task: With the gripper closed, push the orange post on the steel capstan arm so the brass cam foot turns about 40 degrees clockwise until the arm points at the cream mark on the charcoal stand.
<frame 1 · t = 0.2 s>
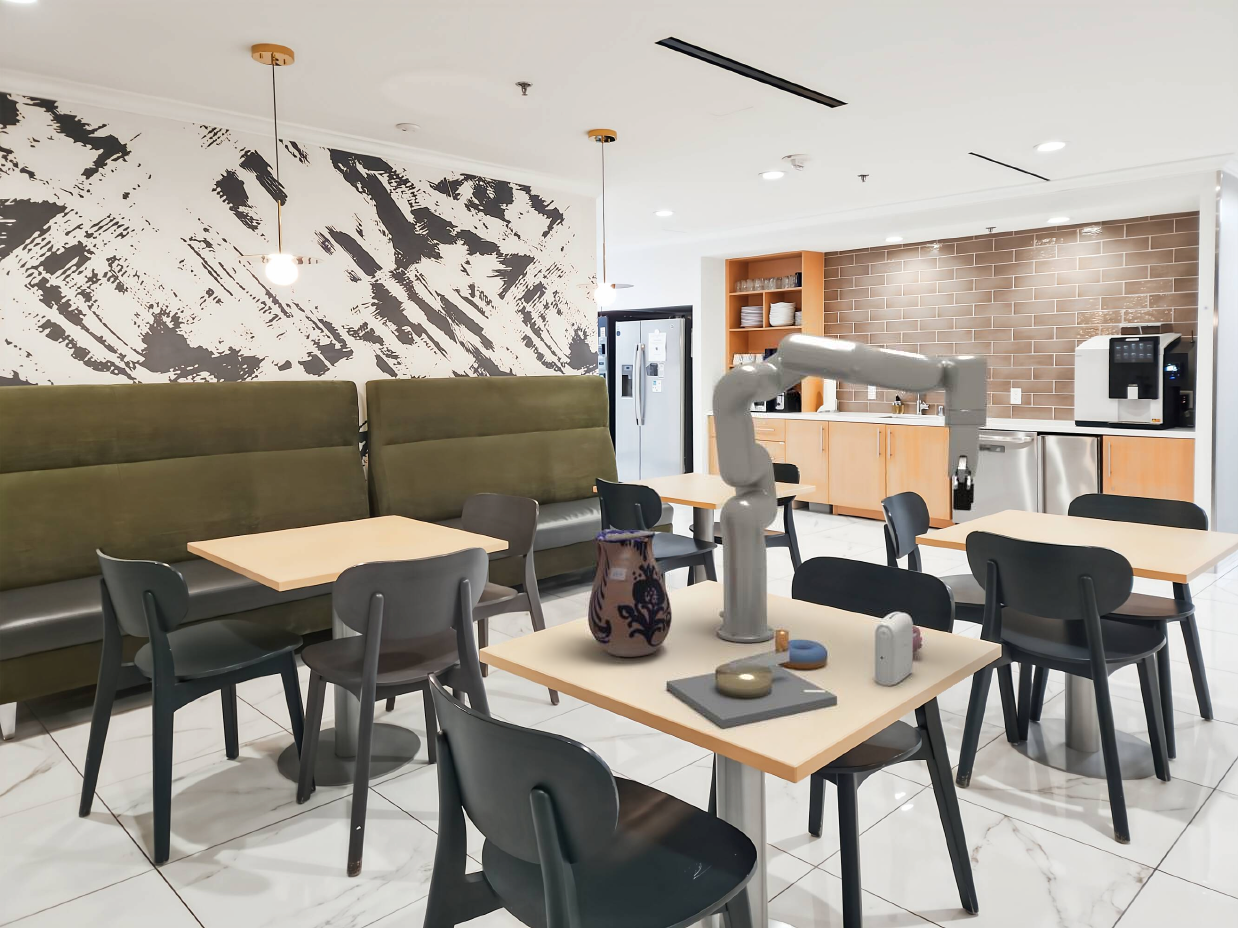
hand: (963, 506, 168), 31 cm above the table, tool pointing down, fingers open, 9 cm apart
doughnut: (802, 664, 172), on the table
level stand: (749, 696, 154), on the table
photo printer: (893, 678, 162), on the table
cam foot: (755, 661, 154), point 6 cm above the table, hinge at 40.0°
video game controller: (904, 654, 176), on the table
ceramic pitcher: (625, 650, 182), on the table
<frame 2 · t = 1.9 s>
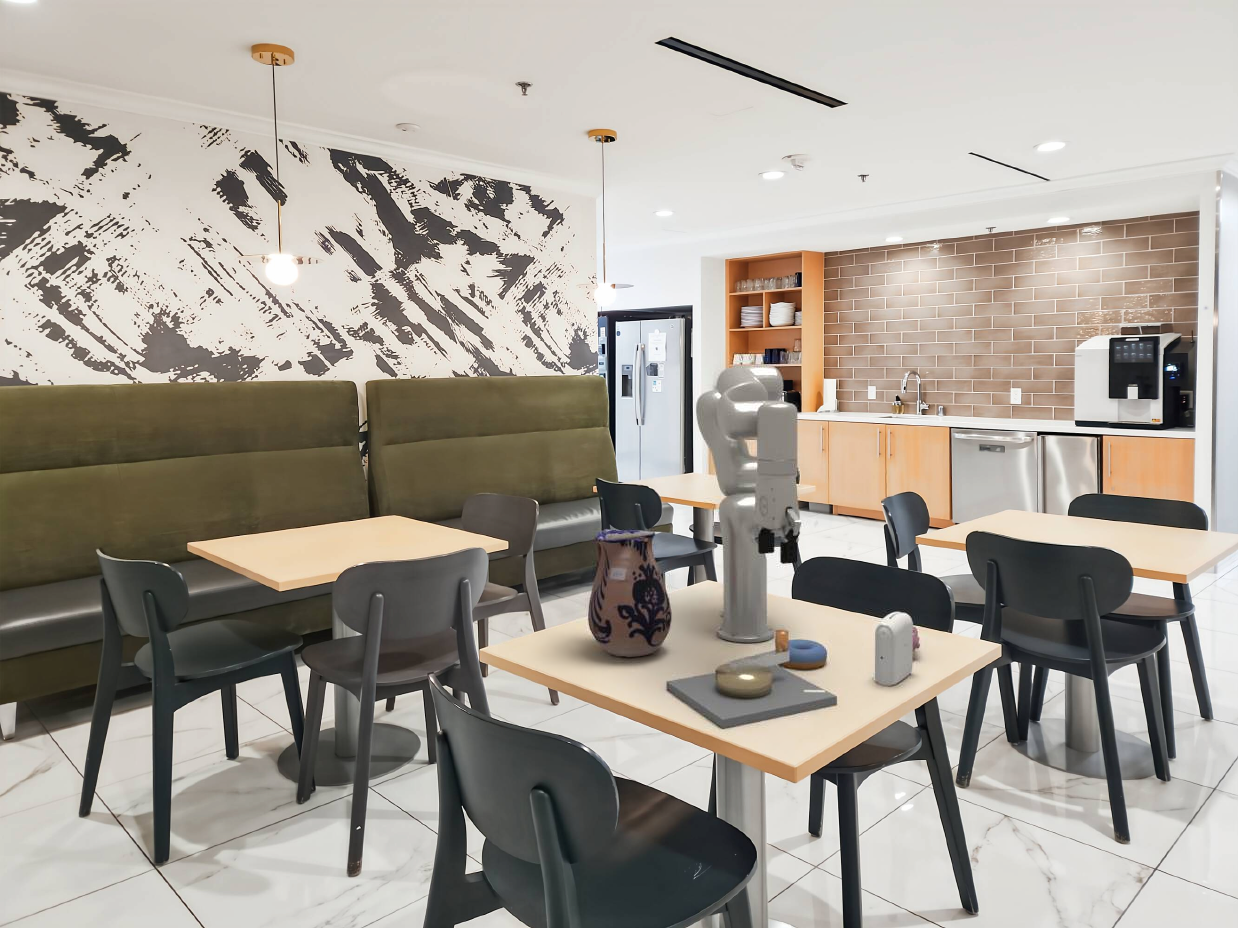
hand: (777, 557, 163), 23 cm above the table, tool pointing down, fingers open, 9 cm apart
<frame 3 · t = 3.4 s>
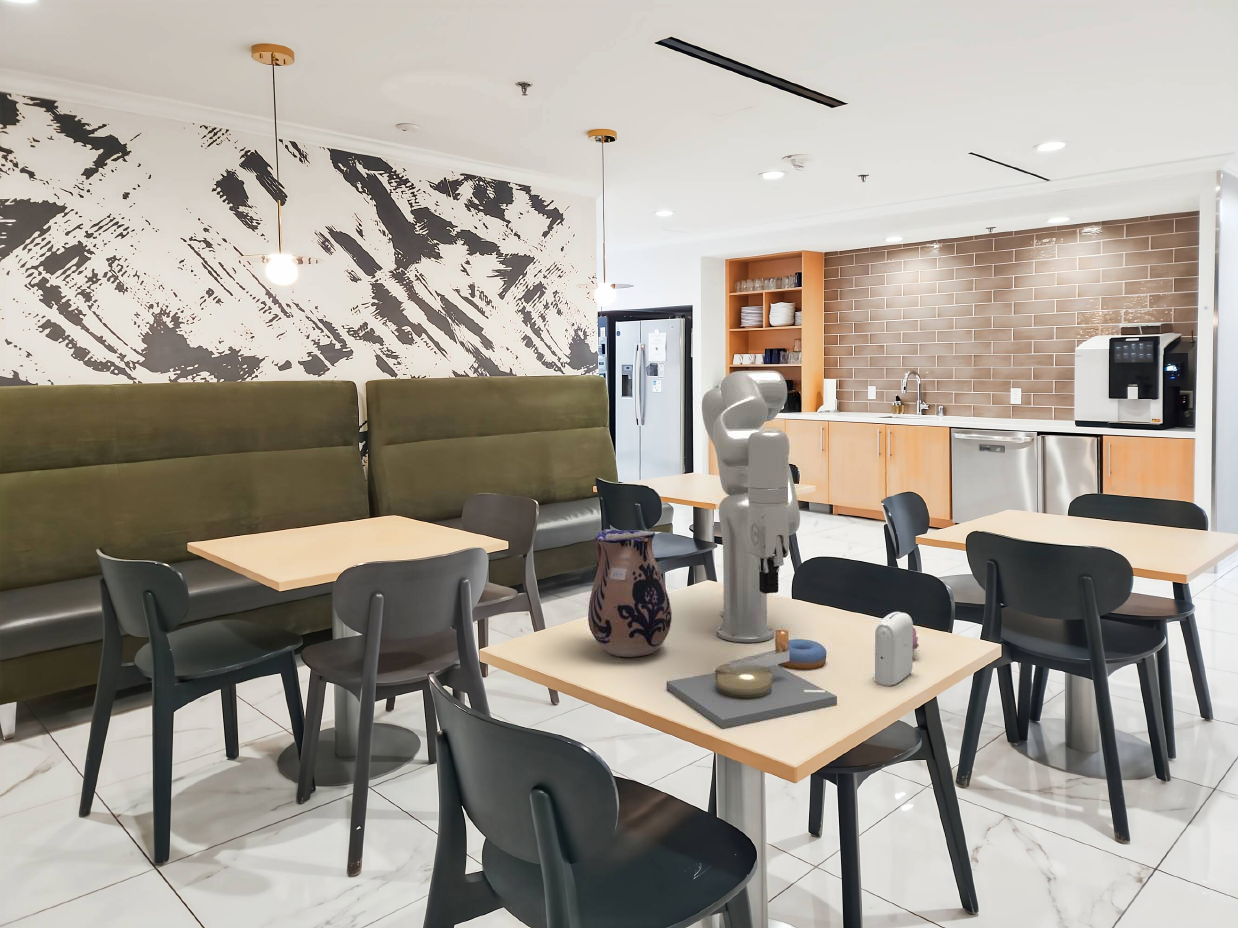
hand: (768, 592, 163), 16 cm above the table, tool pointing down, fingers closed
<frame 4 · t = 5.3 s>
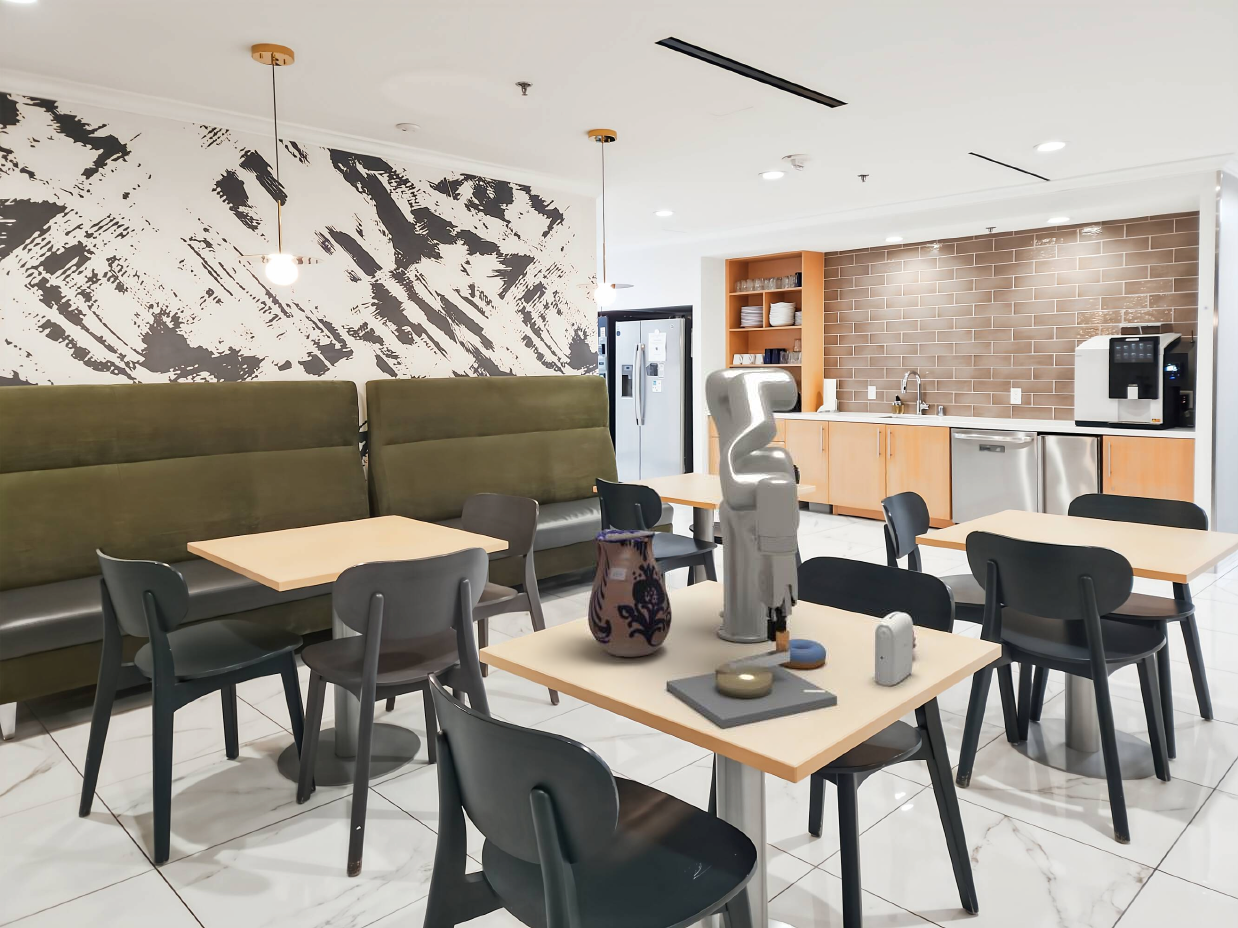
hand: (776, 639, 161), 8 cm above the table, tool pointing down, fingers closed
cam foot: (755, 661, 154), point 6 cm above the table, hinge at 39.0°, touching gripper
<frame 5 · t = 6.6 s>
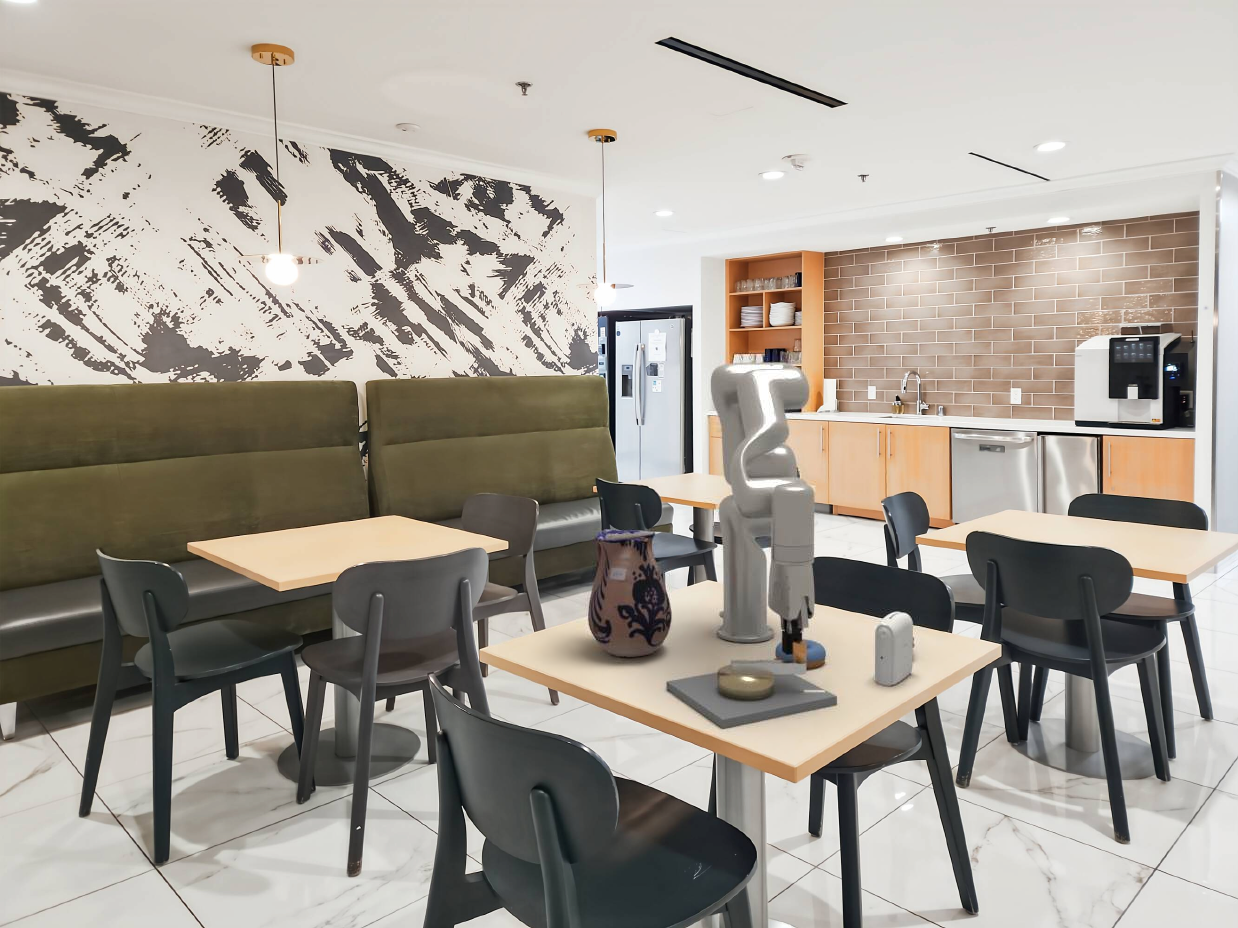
hand: (791, 652, 155), 7 cm above the table, tool pointing down, fingers closed
cam foot: (761, 665, 152), point 6 cm above the table, hinge at 3.4°, touching gripper
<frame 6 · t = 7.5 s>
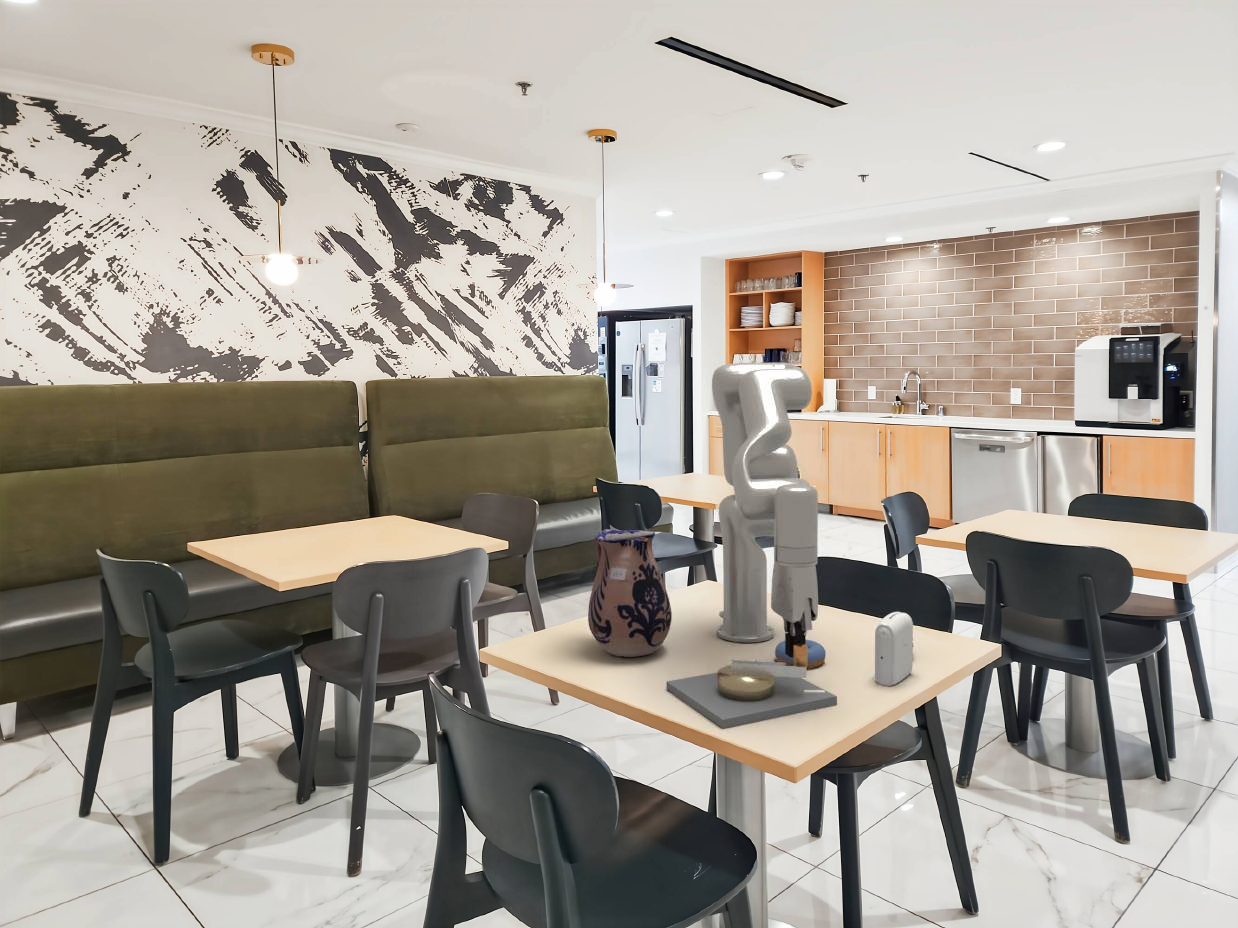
hand: (795, 655, 153), 7 cm above the table, tool pointing down, fingers closed
cam foot: (762, 667, 151), point 6 cm above the table, hinge at -5.4°, touching gripper
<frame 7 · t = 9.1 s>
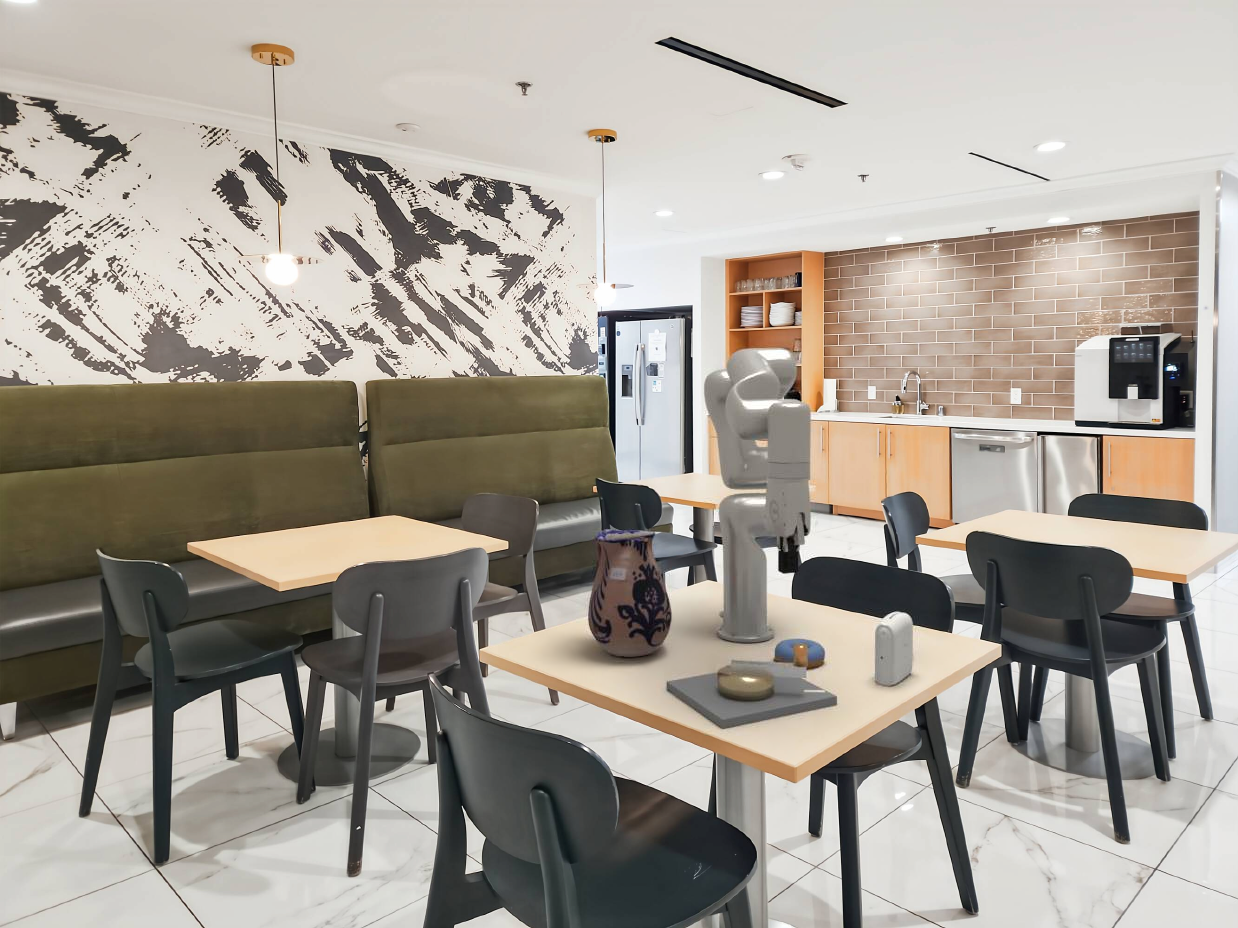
hand: (788, 571, 155), 22 cm above the table, tool pointing down, fingers closed
cam foot: (762, 667, 151), point 6 cm above the table, hinge at -5.9°
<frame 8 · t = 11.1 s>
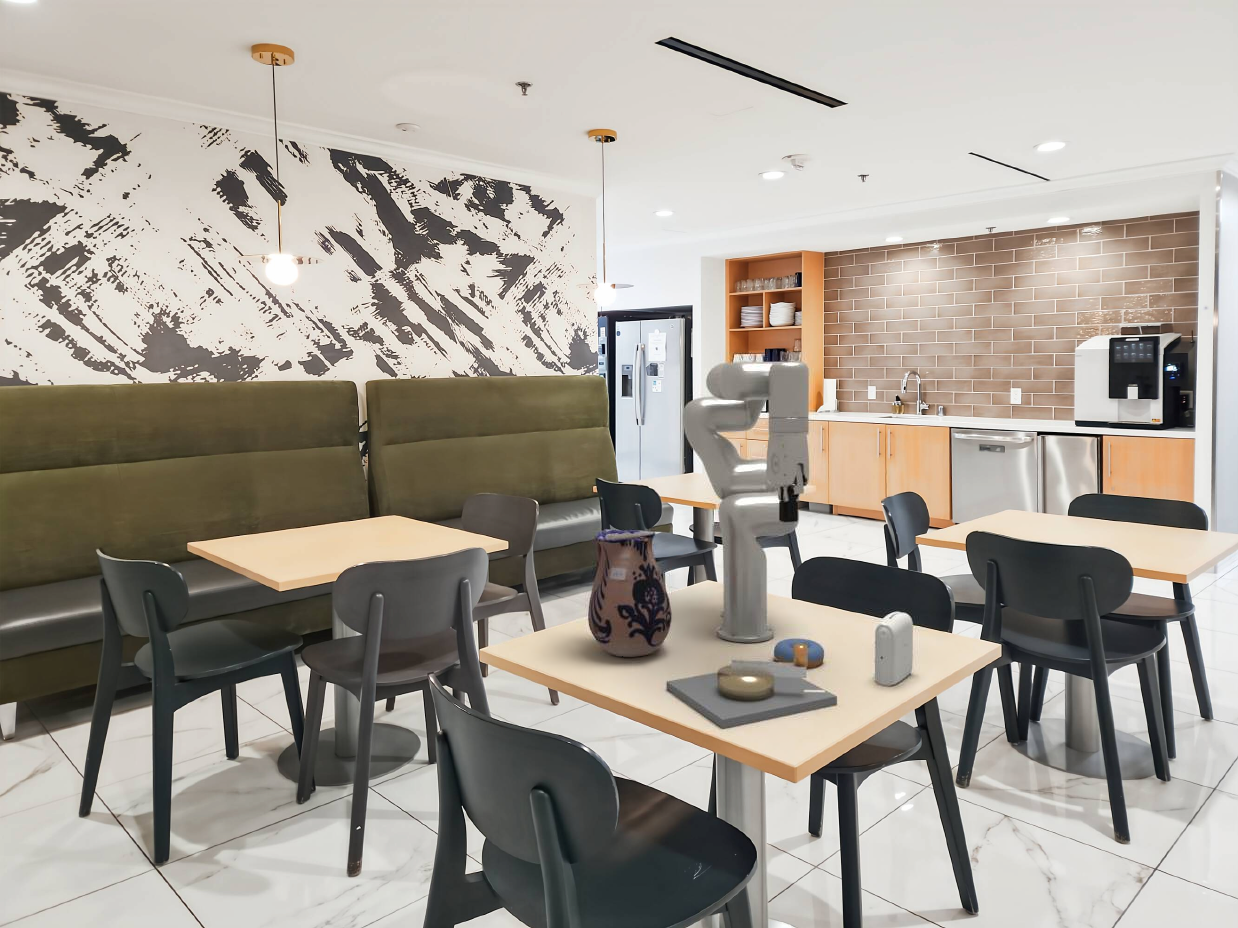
hand: (788, 521, 166), 29 cm above the table, tool pointing down, fingers closed
at the end: cam foot at -6° (first picture: +40°) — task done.
